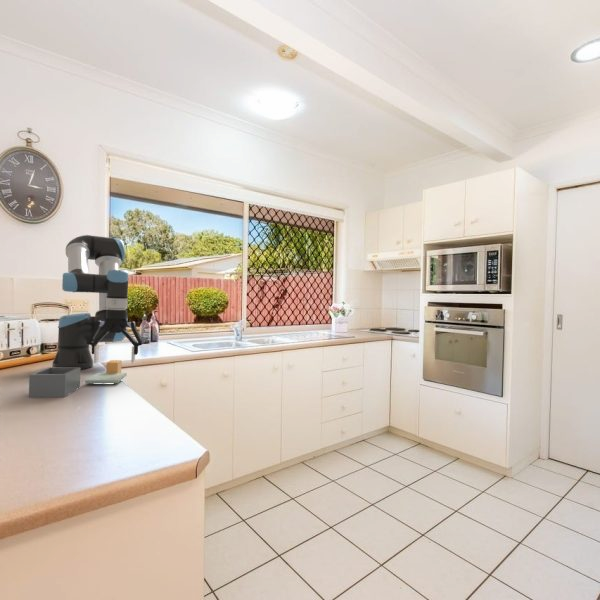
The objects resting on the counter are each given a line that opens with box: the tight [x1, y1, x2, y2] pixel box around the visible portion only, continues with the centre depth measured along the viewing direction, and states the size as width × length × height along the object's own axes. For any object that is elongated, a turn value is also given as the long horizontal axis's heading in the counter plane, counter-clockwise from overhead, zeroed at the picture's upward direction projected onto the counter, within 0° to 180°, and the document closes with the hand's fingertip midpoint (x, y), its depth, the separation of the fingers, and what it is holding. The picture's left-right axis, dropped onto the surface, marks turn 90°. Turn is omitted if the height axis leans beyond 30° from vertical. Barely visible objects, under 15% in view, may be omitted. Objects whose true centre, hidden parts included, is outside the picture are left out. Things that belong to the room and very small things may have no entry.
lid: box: [84, 359, 128, 384], centre depth 139 cm, size 18×11×6 cm, turn 12°
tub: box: [28, 366, 82, 398], centre depth 120 cm, size 12×10×7 cm
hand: (114, 362), depth 146 cm, fingers open, 13 cm apart
